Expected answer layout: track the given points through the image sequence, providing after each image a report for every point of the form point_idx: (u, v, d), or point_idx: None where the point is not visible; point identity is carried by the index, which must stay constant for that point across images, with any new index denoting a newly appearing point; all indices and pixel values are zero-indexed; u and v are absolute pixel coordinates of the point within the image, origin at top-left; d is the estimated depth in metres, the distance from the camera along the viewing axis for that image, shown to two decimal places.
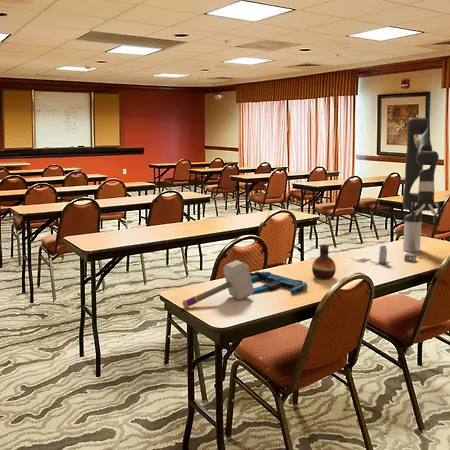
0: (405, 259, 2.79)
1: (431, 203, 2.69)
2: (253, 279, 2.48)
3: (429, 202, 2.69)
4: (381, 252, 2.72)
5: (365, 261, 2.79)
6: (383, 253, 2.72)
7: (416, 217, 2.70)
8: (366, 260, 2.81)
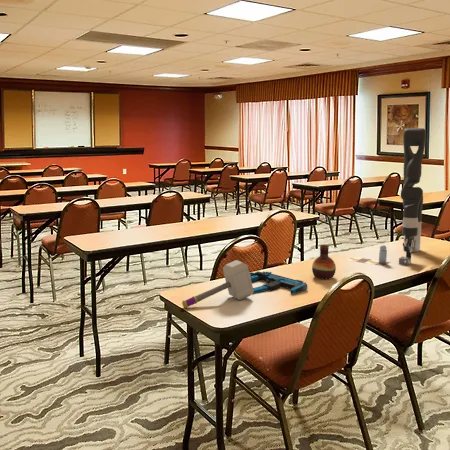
0: (400, 262, 2.72)
1: (413, 237, 2.75)
2: (253, 279, 2.48)
3: (412, 237, 2.74)
4: (381, 252, 2.72)
5: (365, 261, 2.79)
6: (383, 253, 2.72)
7: (409, 254, 2.74)
8: (366, 260, 2.81)
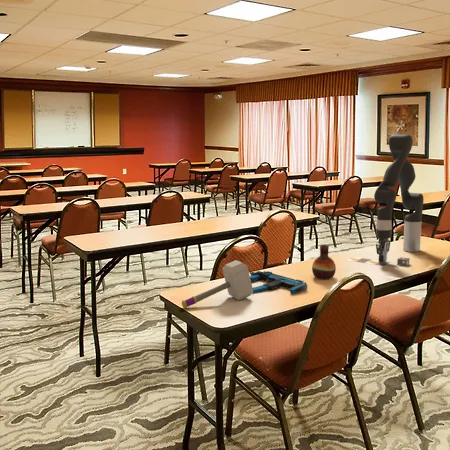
0: (398, 263, 2.71)
1: (387, 239, 2.74)
2: (254, 278, 2.49)
3: (386, 239, 2.73)
4: None
5: (365, 261, 2.79)
6: None
7: (382, 257, 2.72)
8: (366, 260, 2.81)
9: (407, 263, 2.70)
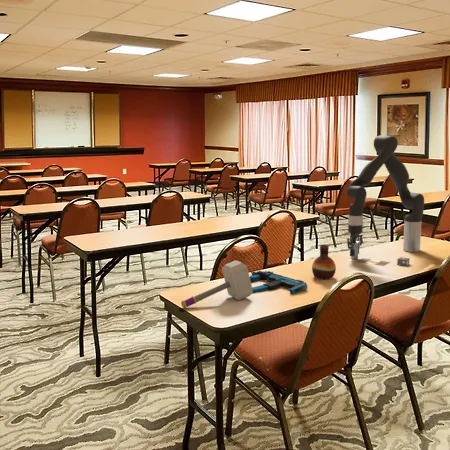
0: (398, 263, 2.71)
1: (359, 234, 2.83)
2: (255, 278, 2.49)
3: (358, 234, 2.82)
4: None
5: (365, 261, 2.79)
6: (355, 249, 2.82)
7: (353, 251, 2.80)
8: (366, 260, 2.81)
9: (407, 263, 2.70)
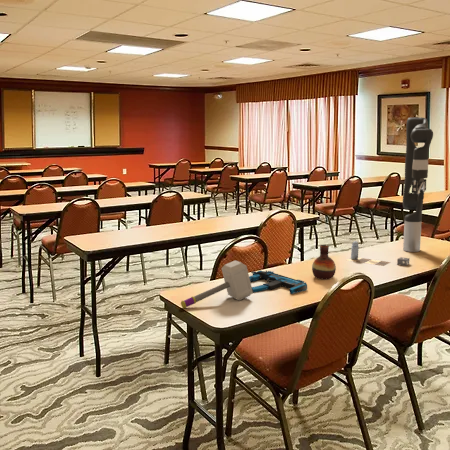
0: (398, 263, 2.71)
1: (423, 180, 2.74)
2: (255, 278, 2.50)
3: (422, 180, 2.73)
4: (353, 248, 2.82)
5: (365, 261, 2.79)
6: (355, 249, 2.82)
7: (417, 196, 2.70)
8: (366, 260, 2.81)
9: (407, 263, 2.70)
